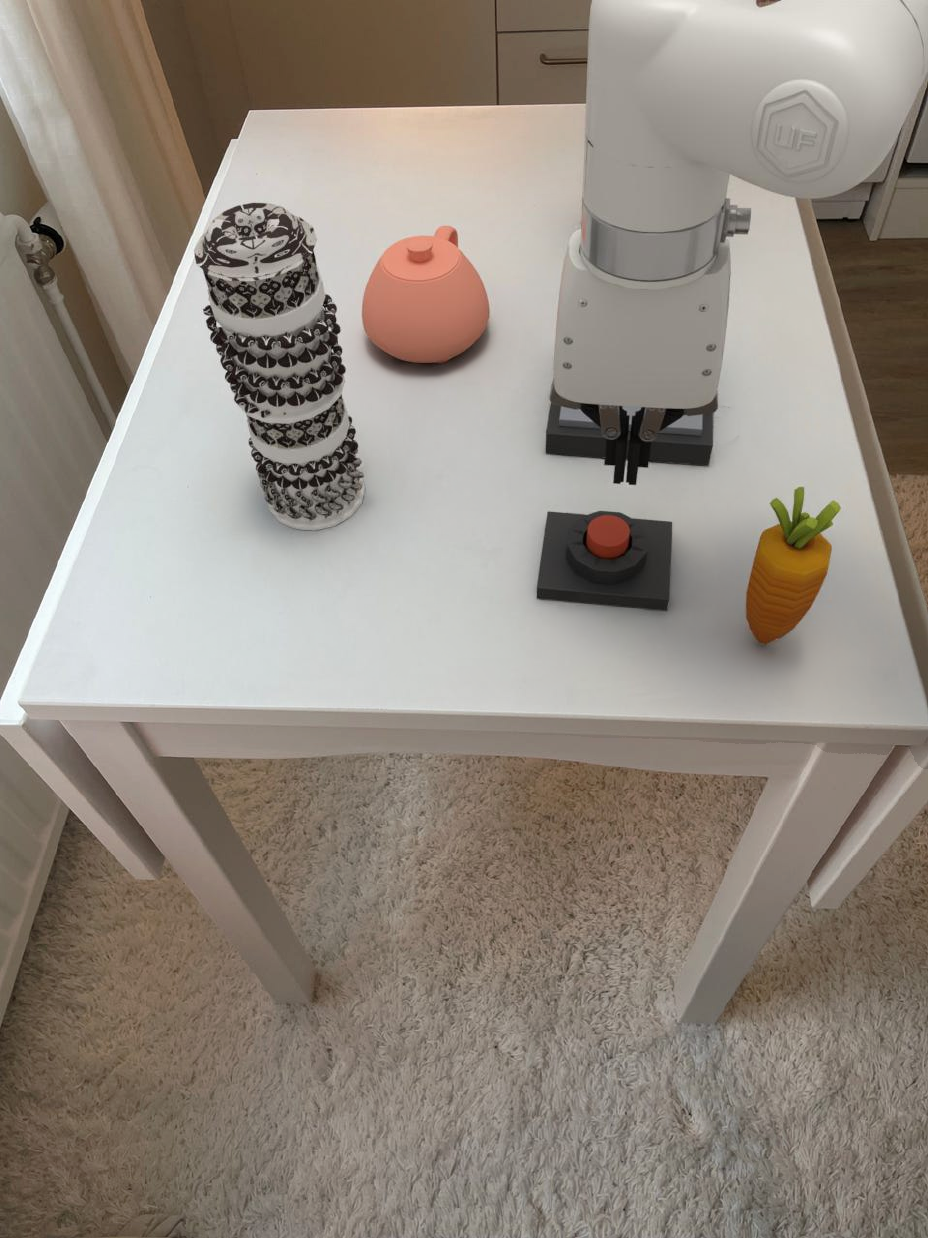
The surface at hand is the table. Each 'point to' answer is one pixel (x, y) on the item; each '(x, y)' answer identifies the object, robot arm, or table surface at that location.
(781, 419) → the table surface
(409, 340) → the sugar bowl
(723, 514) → the table surface
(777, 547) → the carrot
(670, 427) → the scale
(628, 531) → the button
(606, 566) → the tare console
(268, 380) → the patterned cylindrical tower
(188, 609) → the table surface
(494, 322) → the table surface
